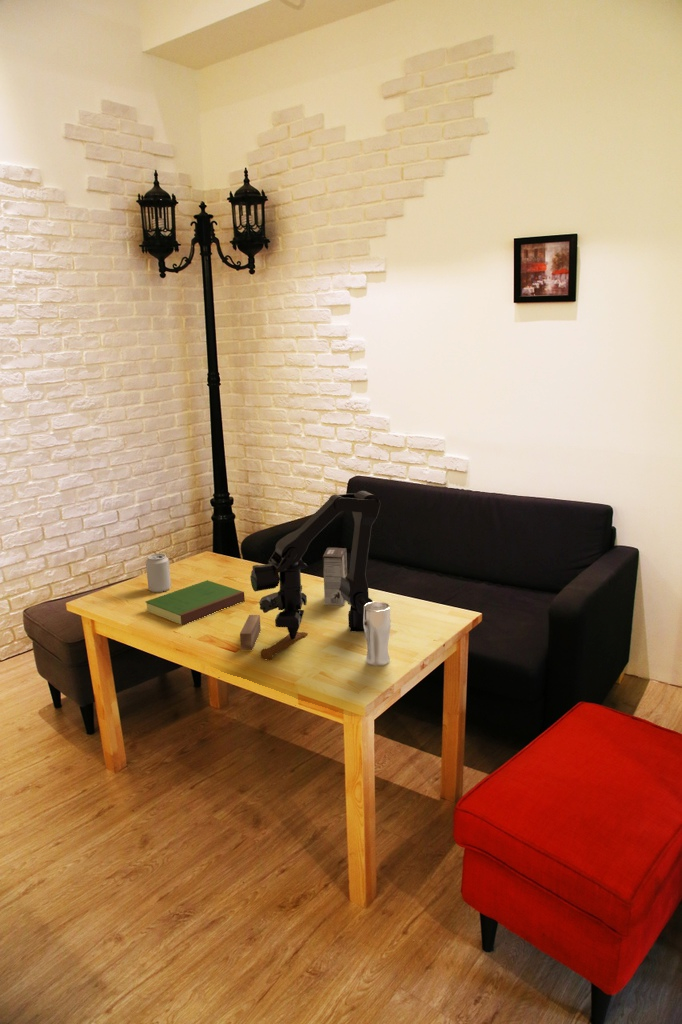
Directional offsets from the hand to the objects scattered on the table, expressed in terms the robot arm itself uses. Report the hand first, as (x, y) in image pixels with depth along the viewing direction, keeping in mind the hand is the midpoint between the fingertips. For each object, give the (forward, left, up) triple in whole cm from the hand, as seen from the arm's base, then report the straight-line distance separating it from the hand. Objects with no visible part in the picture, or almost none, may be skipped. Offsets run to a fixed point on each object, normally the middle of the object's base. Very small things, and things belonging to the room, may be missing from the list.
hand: (293, 638), depth 195 cm
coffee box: (-10, -32, -1) cm, 33 cm away
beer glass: (-24, +11, -1) cm, 26 cm away
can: (+51, -43, -1) cm, 67 cm away
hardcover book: (+34, -27, -2) cm, 44 cm away
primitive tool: (+2, +2, -2) cm, 4 cm away
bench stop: (+12, -1, -1) cm, 12 cm away
